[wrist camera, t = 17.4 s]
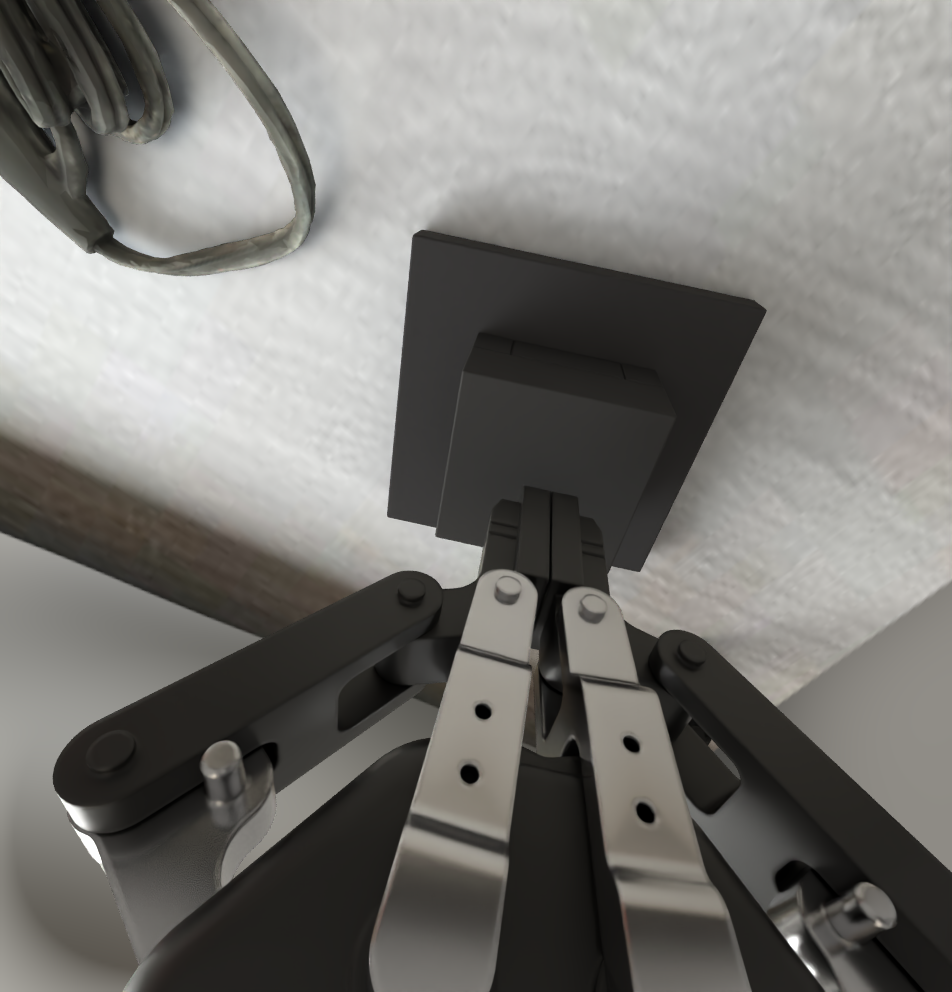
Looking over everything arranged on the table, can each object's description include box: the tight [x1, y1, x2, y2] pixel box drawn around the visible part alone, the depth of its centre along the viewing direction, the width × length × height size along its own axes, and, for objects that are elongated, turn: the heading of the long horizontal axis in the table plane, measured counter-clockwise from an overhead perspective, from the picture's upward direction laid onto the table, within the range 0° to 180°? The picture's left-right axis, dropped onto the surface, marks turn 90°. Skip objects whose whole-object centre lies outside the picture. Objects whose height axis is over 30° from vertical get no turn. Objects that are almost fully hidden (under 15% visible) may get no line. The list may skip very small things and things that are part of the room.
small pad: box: [435, 333, 677, 574], centre depth 17 cm, size 6×6×4 cm
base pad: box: [387, 230, 766, 572], centre depth 19 cm, size 11×11×3 cm
